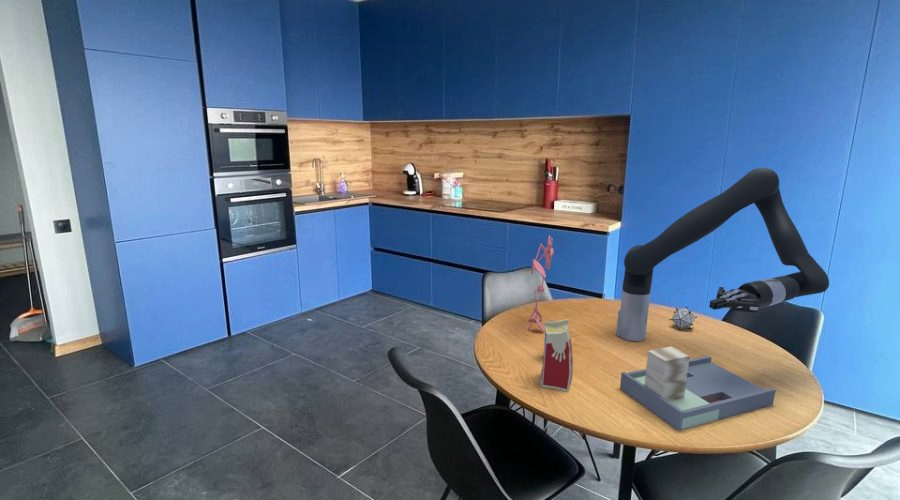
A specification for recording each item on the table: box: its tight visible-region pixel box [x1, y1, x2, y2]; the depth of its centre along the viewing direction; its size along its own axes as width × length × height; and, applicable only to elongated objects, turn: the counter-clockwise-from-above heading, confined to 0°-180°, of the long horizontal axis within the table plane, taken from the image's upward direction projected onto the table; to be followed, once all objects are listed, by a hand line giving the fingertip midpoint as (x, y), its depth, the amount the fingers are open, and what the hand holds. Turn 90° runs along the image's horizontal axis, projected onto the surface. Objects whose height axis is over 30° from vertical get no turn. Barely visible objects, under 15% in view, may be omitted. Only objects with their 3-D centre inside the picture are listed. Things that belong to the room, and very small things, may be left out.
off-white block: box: [644, 346, 691, 401], centre depth 122 cm, size 8×6×12 cm
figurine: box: [526, 235, 562, 337], centre depth 172 cm, size 15×26×35 cm, turn 170°
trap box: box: [619, 355, 777, 431], centre depth 128 cm, size 33×21×5 cm, turn 110°
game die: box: [668, 306, 698, 331], centre depth 174 cm, size 9×8×10 cm
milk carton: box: [539, 318, 574, 393], centre depth 134 cm, size 9×9×20 cm
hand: (711, 305), depth 126 cm, fingers closed
